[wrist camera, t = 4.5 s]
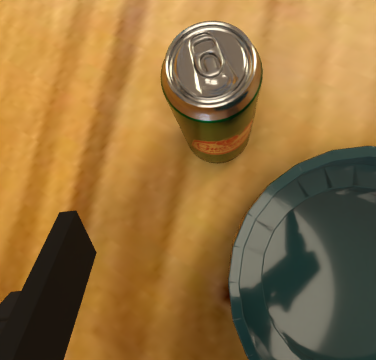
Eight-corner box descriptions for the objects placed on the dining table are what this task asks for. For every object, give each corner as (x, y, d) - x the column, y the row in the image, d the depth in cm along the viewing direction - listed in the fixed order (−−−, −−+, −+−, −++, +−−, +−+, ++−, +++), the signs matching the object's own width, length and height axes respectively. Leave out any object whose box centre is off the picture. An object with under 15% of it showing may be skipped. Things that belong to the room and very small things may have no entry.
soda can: (198, 173, 27) (175, 131, 15) (179, 117, 28) (142, 35, 16) (258, 152, 27) (281, 92, 15) (236, 96, 27) (242, -4, 16)
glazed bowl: (244, 406, 24) (248, 455, 19) (216, 177, 27) (213, 165, 22) (498, 394, 22) (579, 443, 17) (442, 149, 25) (497, 129, 20)
